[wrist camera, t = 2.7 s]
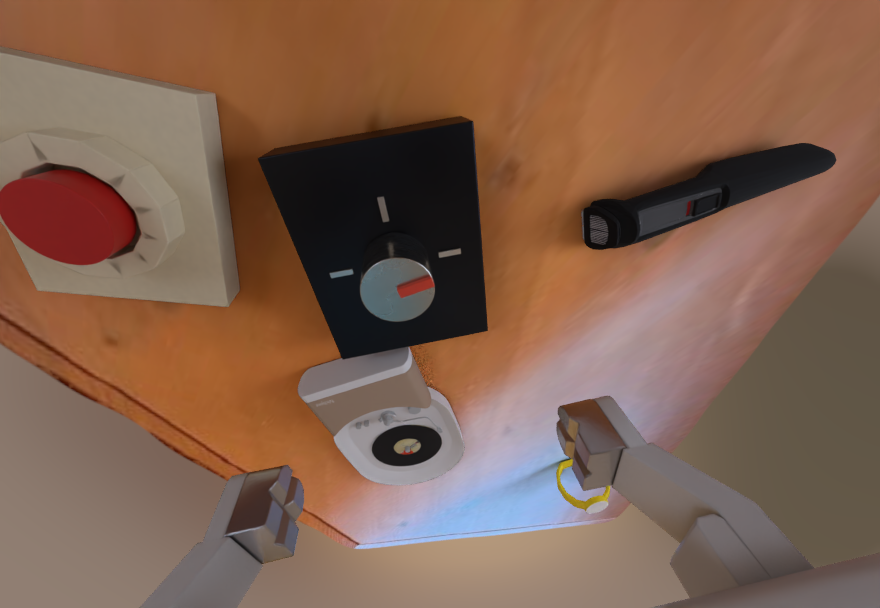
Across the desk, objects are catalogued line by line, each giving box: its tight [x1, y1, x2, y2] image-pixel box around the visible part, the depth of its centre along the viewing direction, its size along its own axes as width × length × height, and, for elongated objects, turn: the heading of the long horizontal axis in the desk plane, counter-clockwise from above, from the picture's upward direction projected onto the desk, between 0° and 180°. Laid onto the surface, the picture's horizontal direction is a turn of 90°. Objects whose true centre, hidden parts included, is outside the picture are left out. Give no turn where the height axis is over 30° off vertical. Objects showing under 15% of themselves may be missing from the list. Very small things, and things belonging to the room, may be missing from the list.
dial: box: [360, 232, 435, 322], centre depth 19 cm, size 4×4×4 cm
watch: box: [556, 459, 610, 514], centre depth 40 cm, size 6×3×6 cm, turn 104°
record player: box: [298, 347, 465, 485], centre depth 32 cm, size 12×3×20 cm
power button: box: [0, 169, 137, 265], centre depth 15 cm, size 4×4×2 cm
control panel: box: [258, 116, 488, 360], centre depth 22 cm, size 14×11×3 cm
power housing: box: [0, 46, 240, 307], centre depth 17 cm, size 12×10×4 cm
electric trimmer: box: [581, 143, 836, 250], centre depth 23 cm, size 4×16×3 cm, turn 106°
